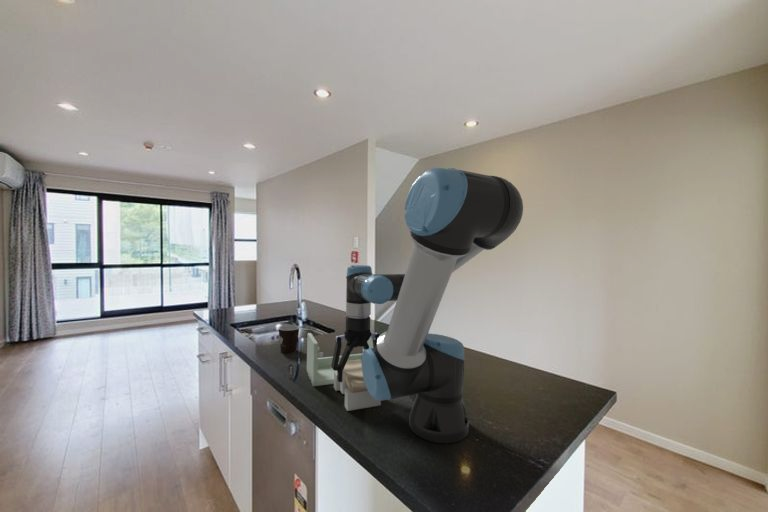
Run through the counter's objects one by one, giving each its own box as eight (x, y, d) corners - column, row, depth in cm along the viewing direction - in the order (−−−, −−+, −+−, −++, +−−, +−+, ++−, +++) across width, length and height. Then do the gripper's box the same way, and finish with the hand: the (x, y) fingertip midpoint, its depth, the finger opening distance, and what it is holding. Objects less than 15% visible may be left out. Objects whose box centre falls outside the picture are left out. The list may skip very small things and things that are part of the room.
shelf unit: (377, 377, 112) (378, 337, 112) (313, 386, 104) (314, 343, 103) (365, 364, 124) (366, 328, 124) (306, 371, 116) (307, 333, 115)
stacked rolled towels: (379, 388, 91) (379, 380, 91) (352, 393, 88) (352, 384, 88) (359, 366, 108) (360, 359, 108) (336, 369, 105) (336, 362, 105)
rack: (380, 405, 93) (381, 388, 93) (347, 411, 89) (347, 393, 89) (362, 382, 107) (363, 368, 107) (333, 387, 104) (334, 371, 103)
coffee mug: (278, 348, 140) (278, 325, 140) (298, 347, 143) (299, 324, 142) (277, 357, 129) (278, 332, 129) (299, 355, 132) (300, 331, 131)
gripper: (385, 311, 105) (383, 380, 105) (321, 315, 97) (319, 389, 97) (394, 316, 98) (392, 390, 98) (326, 320, 90) (325, 400, 90)
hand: (356, 389), depth 98 cm, fingers closed on stacked rolled towels, 8 cm apart
